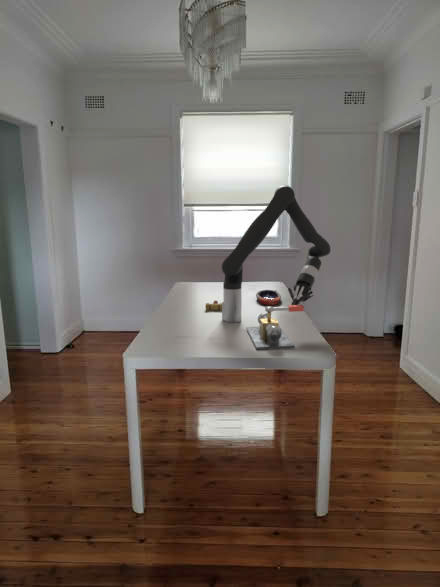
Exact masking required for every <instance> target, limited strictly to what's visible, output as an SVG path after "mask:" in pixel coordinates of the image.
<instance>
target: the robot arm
mask: <svg viewBox="0 0 440 587" xmlns="http://www.w3.org/2000/svg"><path fill="white" fill-rule="evenodd" d="M273 194H274V195H273V197H272V198H271V200H270V202H269V203H268V205H267V206H266V207H265V209H264V210H263V211H262V212H261V213H260V214H259V215H258V216H257V217H256V218H255V219H254V220H253V221H252V223H251V224H250V225H249V227H248V228H247V229H246V231H245V233H243V235H242V237H241V239H240V240H239V242H238V244H237V245H236V246H235V248H234V249H233V250H232V251H231V253H230V254H228V256H227V257H226V258H224V260H223V261H222V264H221V271H222V273H223V274H224V280H223V283H222V285H223V288H222V289H223V291H222V292H223V301H222V302H221V303H222V311H221V320H222V321H224V322H226V323H239V322H241V321H242V284H243V272H244V271H243V268H244V267H243V264H244V263H245V261H246V259H247V258H248V257H249V256H250V255H251V254H252V253H253V251H255V250H256V249H257V247H259V246H260V244H262V242H263V241H264V240H265V238H266V237H267V235H269V233H270V232H271V230H272V229H273V227H274V225H275V224H276V223H277V220H278V219H279V217H280V216H281V215H282V214H283V212H285V211H286V213H287V215H288V216H289V217H290V219H291V220H292V222H293V224H294V227H295V228H296V230H297V231H298V233H299V235H300V236H301V237H302V239H303V241H305V243H307V244H312V245H311V246H310V247H309V248H308V251H307V258H306V262H305V264H304V266H303V268H302V269H301V271H300V273H299V275H298V278H297V280H296V282H295V284H294V285H293V287H288V288H287V290H288V294H289V296H290V298H291V300H292V301H291V304H290V305H300V303H301V302H303V303H305V302H306V301H308V300H310V299H311V298H313V296H314V295H315V294H314V291H312V288H313V286H314V283H315V281H316V279H317V276H318V273H319V270H320V268H321V265H322V260H321V259H320V258H323V257H326V256H329V255H330V253H331V245H330V244H329V242H328V241H327V240H326V239H325V238H324V237H323V236H322V235H321V234H320V233H318V232H317V230H316V229H315V227H314V225H313V223H312V222H311V221H310V219H309V218H308V217H307V216H306V214H305V213H304V211H303V210H302V208H301V207H300V204H299V203H298V201H297V199H296V194H295V190H294V189H293V188H292V187H291V186H289V185H285V184H283V185H280V186H278V187H277V188H276V189H275V191H274V193H273Z"/></svg>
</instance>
